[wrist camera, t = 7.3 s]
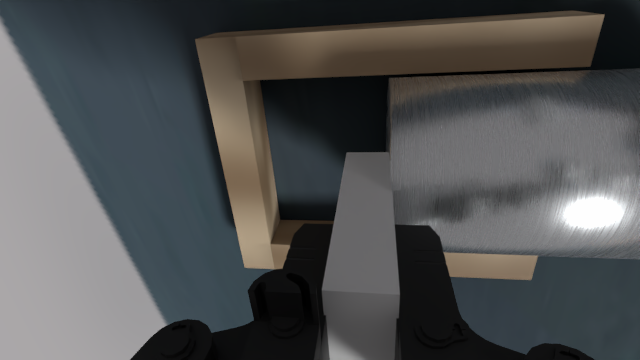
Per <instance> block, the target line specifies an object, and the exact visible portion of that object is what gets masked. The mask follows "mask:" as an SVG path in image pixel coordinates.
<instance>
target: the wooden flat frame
mask: <svg viewBox="0 0 640 360" xmlns="http://www.w3.org/2000/svg"><path fill="white" fill-rule="evenodd" d="M604 16H605V14H597V13H589V12H581V11H573V10H571V11H555V12H540V13H524V14H508V15H492V16H476V17H460V18H444V19H428V20H412V21H396V22H380V23H364V24H348V25H332V26H316V27H301V28H285V29H269V30H253V31H237V32H221V33H214V34H211V35H207V36H204V37H201V38H197V39H195V43H196V47H197V52H198V56H199V61H200V65H201V70H202V74H203V79H204V84H205V88H206V93H207V97H208V102H209V106H210V111H211V116H212V120H213V125H214V129H215V134H216V138H217V143H218V148H219V152H220V157H221V161H222V166H223V170H224V175H225V180H226V184H227V189H228V193H229V198H230V202H231V207H232V212H233V216H234V221H235V225H236V230H237V234H238V239H239V244H240V248H241V253H242V257H243V262H244V266H245V268H262V269H282V268H283V265H284V262H285V260H286V256H287V253H288V250H289V249H290V244H291V241H292V238H293V235H294V233H295V232H296V231H297V230H298V229H299V228H300V227H301V226H302V225H303V224H304V223H310V224H334V221H317V220H280V214H279V207H278V200H277V193H276V187H275V180H274V173H273V166H272V159H271V152H270V145H269V139H268V132H267V125H266V118H265V111H264V104H263V97H262V91H261V84H260V80H272V79H297V78H321V77H346V76H371V75H395V74H420V73H444V72H469V71H494V70H518V69H543V68H567V67H590V66H591V62H592V59H593V55H594V52H595V48H596V44H597V41H598V37H599V34H600V30H601V26H602V23H603V19H604ZM444 255H445V259H446V265H447V267H448V271H449V275H450V277H472V278H496V279H519V280H531V279H532V275H533V271H534V268H535V264H536V261H537V257H538V256H529V255H500V254H471V253H444Z"/></svg>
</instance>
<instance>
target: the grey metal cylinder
mask: <svg viewBox="0 0 640 360" xmlns="http://www.w3.org/2000/svg"><path fill="white" fill-rule="evenodd" d="M386 152H389V163H390V176H391V189H392V196H393V210H394V223H395V224H397V225H429V226H430V227H431V228H432V229H433V230H434V231H435V232H436V233H437V234H438V236H439V237H440V239H441V243H442V247H443V253H471V254H500V255H529V256H558V257H587V258H616V259H640V68H639V69H612V70H585V71H559V72H532V73H505V74H479V75H452V76H426V77H399V78H389V81H388V92H387V114H386Z"/></svg>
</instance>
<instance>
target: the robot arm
mask: <svg viewBox="0 0 640 360" xmlns="http://www.w3.org/2000/svg"><path fill="white" fill-rule="evenodd" d="M248 294H249V298H250V303H251V308H252V312H253V317H254V321H252V322H250V323H248V324H246V325H243V326H240V327H237V328H232V329H228V330H223V331H219V332H214V333H211V331H210V329H209V327H208V326H207V325H206V324H204V323H202V322H201V321H199V320H190V319H187V320H182V321H177V322H174V323H172V324H170V325H168V326H166V327H164V328H162V329H161V330H159V331H158V332H157V333H156V334H154V335H153V336H152V337H151V338H150V339H149V340H148V341H147V342H146V343H145V344H144V345H143V347H141V349H140V350H139V351H138V352H137V353H136V354H135V355H134V356H133V357H132V358H131V360H594V359H593V358H591V357H589V356H588V355H586V354H584V353H582V352H581V351H579V350H577V349H574V348H571V347H568V346H564V345H561V344H547V343H544V344H541V345H538V346H535V347H533V348H531V350H530V351H529V352H528V353H527V355H525V354H522V353H519V352H516V351H513V350H510V349H508V348H505V347H502V346H499V345H496V344H494V343H492V342H489V341H487V340H485V339H484V338H482V337H480V336H479V335H477V334H476V333H475V332H474V331H473V330H471V329H470V328H469V326H468V324H467V323H466V322H465V321H464V320H463V319H462V318H461V315H460V313H459V310H458V307H457V303H456V299H455V295H454V291H453V287H452V283H451V279H450V275H449V271H448V267H447V265H446V259H445V255H444V253H443V247H442V243H441V239H440V237H439V236H438V234H437V233H436V232H435V231H434V230H433V229H432V228H431V227H430V226H429V225H397V224H395V223H394V210H393V196H392V189H391V176H390V163H389V152H347V153H346V158H345V164H344V169H343V175H342V181H341V186H340V192H339V197H338V203H337V208H336V214H335V219H334V224H310V223H304V224H303V225H302V226H301V227H300V228H299V229H298V230H297V231H296V232H295V233H294V235H293V238H292V241H291V244H290V249H289V250H288V253H287V256H286V260H285V262H284V265H283V268H282V269H276V270H273V271H270V272H267V273H265V274H263V275H262V276H260V277H259V278H258V279H256V280H255V281H254V282H253V284H252V285H251V286H250V288H249V289H248Z"/></svg>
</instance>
